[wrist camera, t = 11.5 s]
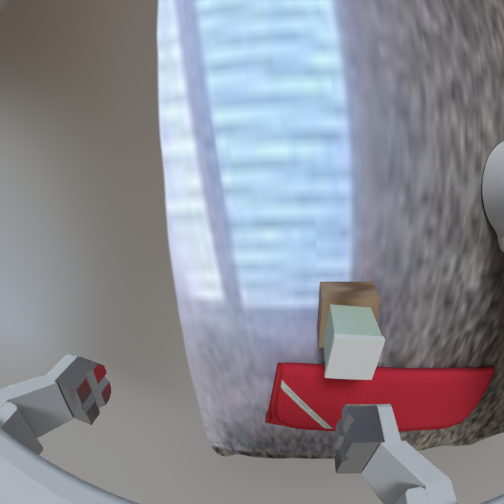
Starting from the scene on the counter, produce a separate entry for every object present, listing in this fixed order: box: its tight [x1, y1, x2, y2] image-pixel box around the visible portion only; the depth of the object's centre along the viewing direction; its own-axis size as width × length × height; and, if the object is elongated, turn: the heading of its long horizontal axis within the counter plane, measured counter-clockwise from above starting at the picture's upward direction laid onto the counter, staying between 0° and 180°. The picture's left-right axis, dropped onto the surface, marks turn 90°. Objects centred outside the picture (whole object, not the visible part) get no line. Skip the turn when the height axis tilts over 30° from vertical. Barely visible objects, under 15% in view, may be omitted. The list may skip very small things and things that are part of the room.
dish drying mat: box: [265, 363, 495, 431], centre depth 42 cm, size 16×41×4 cm, turn 84°
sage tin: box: [323, 304, 385, 380], centre depth 31 cm, size 5×5×7 cm
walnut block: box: [317, 282, 381, 348], centre depth 36 cm, size 7×7×5 cm
